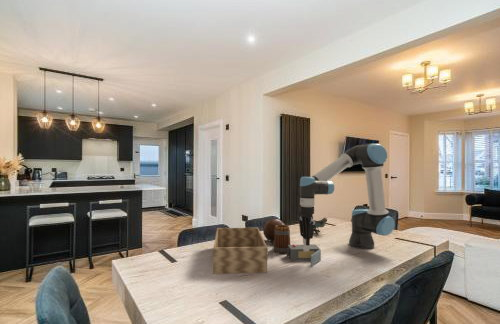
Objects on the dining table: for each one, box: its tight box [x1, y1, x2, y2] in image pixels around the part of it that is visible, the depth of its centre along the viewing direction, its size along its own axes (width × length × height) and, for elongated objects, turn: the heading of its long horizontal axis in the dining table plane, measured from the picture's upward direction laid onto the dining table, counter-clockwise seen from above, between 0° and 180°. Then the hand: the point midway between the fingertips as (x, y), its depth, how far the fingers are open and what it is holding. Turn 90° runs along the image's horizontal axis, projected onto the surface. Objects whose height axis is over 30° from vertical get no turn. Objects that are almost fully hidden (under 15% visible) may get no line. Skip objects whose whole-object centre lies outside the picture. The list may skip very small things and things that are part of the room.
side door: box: [310, 248, 322, 267], centre depth 137 cm, size 12×1×6 cm, turn 145°
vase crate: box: [212, 227, 268, 275], centre depth 144 cm, size 26×40×12 cm, turn 5°
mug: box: [272, 223, 291, 255], centre depth 159 cm, size 16×11×15 cm
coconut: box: [262, 218, 284, 243], centre depth 176 cm, size 15×15×15 cm
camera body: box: [286, 243, 321, 262], centre depth 146 cm, size 17×8×7 cm, turn 95°
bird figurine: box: [314, 217, 328, 235], centre depth 199 cm, size 13×10×20 cm
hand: (306, 250), depth 138 cm, fingers closed
